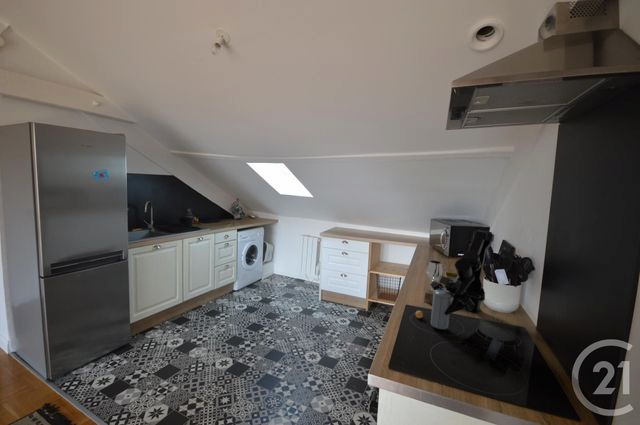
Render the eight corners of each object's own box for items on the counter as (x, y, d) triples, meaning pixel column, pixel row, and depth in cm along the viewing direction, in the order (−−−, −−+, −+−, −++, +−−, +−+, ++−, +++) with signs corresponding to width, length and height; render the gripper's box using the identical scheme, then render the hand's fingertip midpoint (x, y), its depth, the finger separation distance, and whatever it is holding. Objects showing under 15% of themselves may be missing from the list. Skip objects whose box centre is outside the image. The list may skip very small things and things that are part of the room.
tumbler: (450, 325, 116) (454, 293, 114) (442, 330, 112) (446, 297, 110) (436, 319, 121) (439, 288, 119) (427, 323, 117) (431, 291, 115)
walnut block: (436, 301, 144) (437, 292, 143) (434, 304, 140) (435, 295, 139) (426, 298, 146) (427, 289, 146) (424, 302, 142) (425, 292, 142)
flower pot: (461, 294, 155) (463, 278, 154) (444, 291, 158) (446, 276, 157) (459, 288, 163) (460, 274, 162) (442, 286, 166) (444, 271, 165)
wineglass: (433, 298, 147) (437, 265, 145) (420, 292, 154) (424, 260, 152) (443, 295, 152) (446, 263, 150) (429, 290, 159) (433, 259, 156)
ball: (424, 318, 124) (424, 311, 124) (419, 320, 122) (420, 313, 122) (417, 315, 127) (418, 308, 126) (413, 317, 125) (414, 310, 124)
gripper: (435, 263, 123) (413, 289, 120) (472, 277, 106) (447, 309, 103) (447, 278, 127) (425, 304, 124) (484, 295, 110) (460, 326, 107)
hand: (438, 310), depth 115 cm, fingers closed on tumbler, 7 cm apart
